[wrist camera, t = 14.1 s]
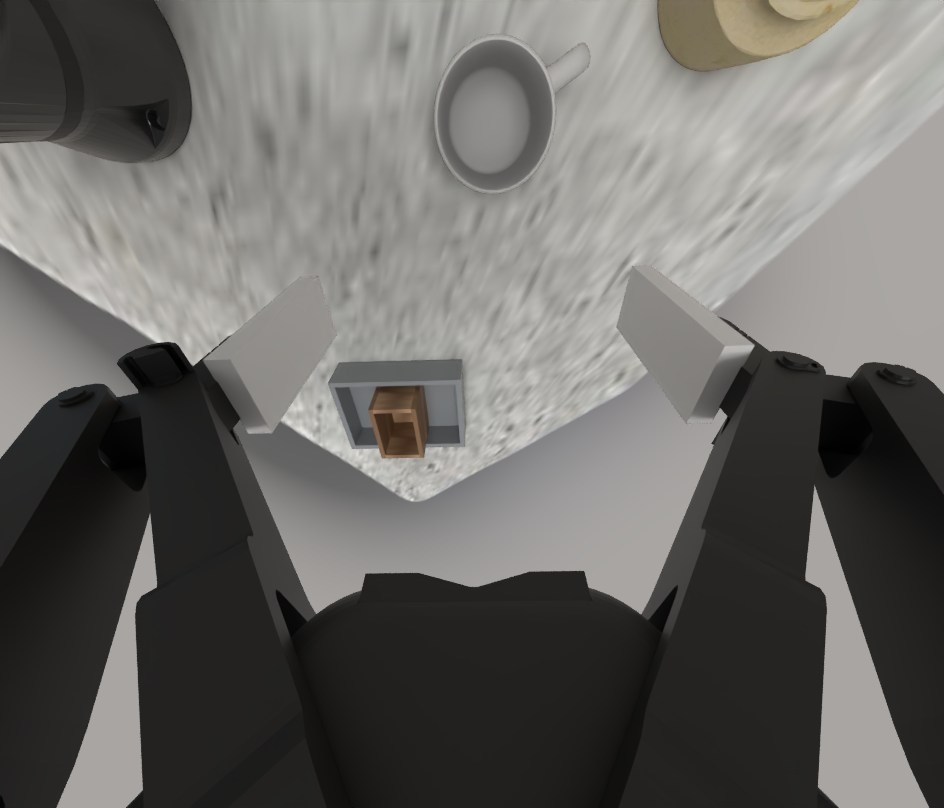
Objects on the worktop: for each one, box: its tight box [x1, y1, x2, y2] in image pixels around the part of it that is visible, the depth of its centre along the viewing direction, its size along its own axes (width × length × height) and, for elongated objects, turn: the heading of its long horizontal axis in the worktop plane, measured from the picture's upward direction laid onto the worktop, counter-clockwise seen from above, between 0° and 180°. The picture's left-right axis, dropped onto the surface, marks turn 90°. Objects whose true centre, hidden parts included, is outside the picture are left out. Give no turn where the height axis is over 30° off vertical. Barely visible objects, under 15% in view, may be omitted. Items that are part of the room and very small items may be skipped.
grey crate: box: [328, 360, 466, 449], centre depth 50 cm, size 17×12×5 cm
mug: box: [434, 34, 590, 194], centre depth 27 cm, size 12×8×11 cm
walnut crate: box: [368, 385, 429, 458], centre depth 48 cm, size 6×9×8 cm, turn 2°
